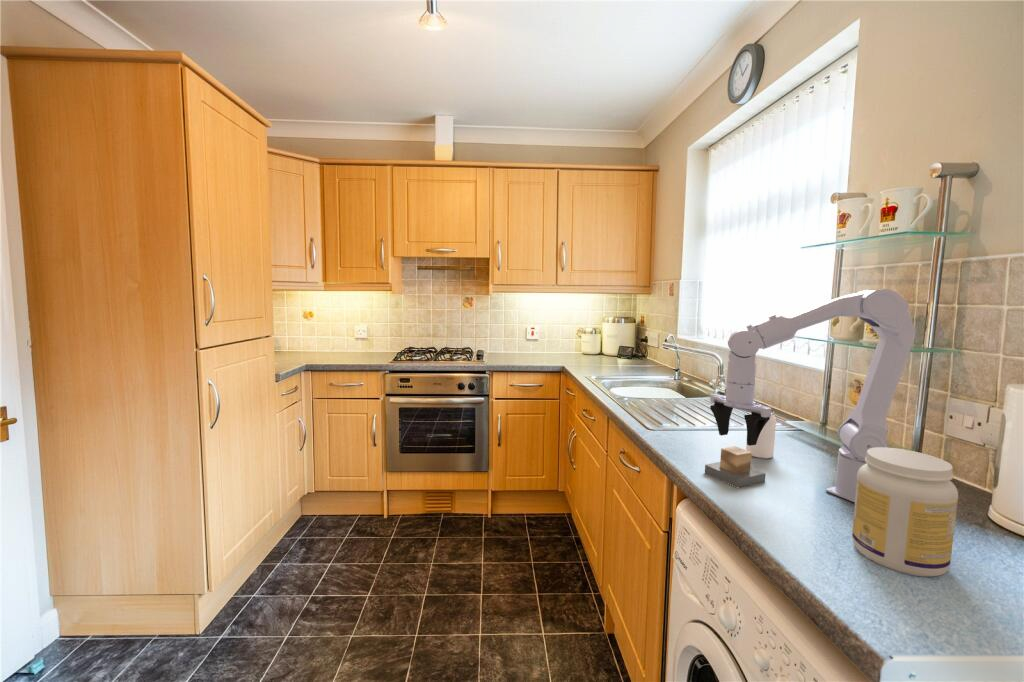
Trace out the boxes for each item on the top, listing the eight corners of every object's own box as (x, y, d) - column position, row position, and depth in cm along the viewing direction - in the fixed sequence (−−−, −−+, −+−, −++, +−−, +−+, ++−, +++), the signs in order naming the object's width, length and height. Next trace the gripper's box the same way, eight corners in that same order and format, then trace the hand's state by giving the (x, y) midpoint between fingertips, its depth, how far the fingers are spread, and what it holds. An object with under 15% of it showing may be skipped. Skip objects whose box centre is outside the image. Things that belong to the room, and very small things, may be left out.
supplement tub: (946, 555, 73) (958, 457, 71) (952, 592, 63) (966, 480, 62) (853, 528, 81) (862, 440, 79) (847, 557, 72) (856, 458, 70)
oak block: (750, 471, 102) (751, 452, 101) (736, 474, 100) (737, 455, 99) (733, 464, 106) (734, 446, 105) (720, 466, 104) (721, 448, 103)
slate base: (764, 481, 101) (765, 473, 100) (737, 488, 97) (737, 479, 97) (731, 467, 109) (732, 459, 109) (704, 472, 105) (705, 464, 105)
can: (766, 451, 121) (769, 408, 119) (778, 459, 114) (781, 415, 113) (741, 449, 121) (744, 407, 120) (752, 458, 115) (755, 414, 114)
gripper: (702, 377, 106) (699, 432, 107) (757, 390, 92) (752, 452, 94) (723, 375, 108) (720, 429, 110) (779, 387, 95) (775, 447, 97)
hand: (737, 439), depth 102 cm, fingers open, 7 cm apart
